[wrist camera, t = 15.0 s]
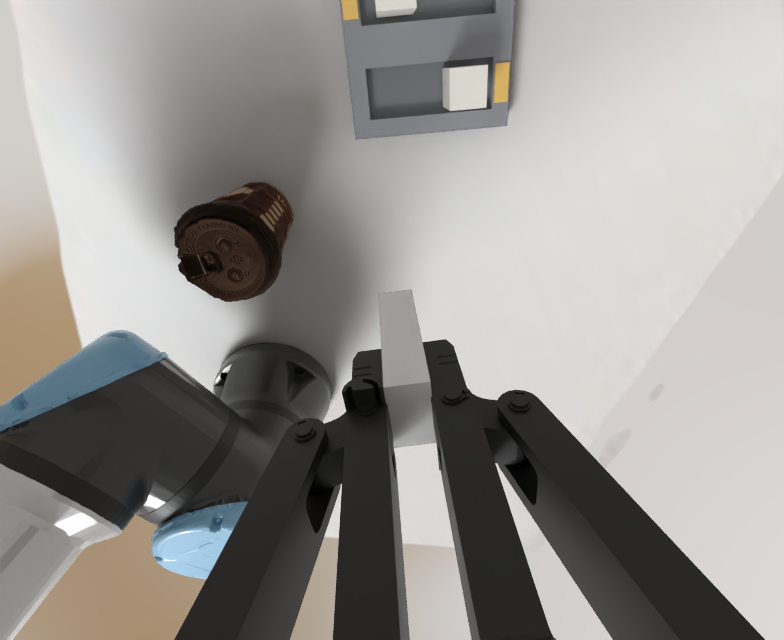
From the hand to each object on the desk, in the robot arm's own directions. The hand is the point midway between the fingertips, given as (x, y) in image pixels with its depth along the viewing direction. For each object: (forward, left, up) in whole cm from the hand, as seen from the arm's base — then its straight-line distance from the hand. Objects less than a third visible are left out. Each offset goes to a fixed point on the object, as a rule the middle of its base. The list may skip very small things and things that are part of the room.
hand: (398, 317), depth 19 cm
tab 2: (+7, +8, -26) cm, 28 cm away
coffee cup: (-14, -2, -27) cm, 31 cm away
